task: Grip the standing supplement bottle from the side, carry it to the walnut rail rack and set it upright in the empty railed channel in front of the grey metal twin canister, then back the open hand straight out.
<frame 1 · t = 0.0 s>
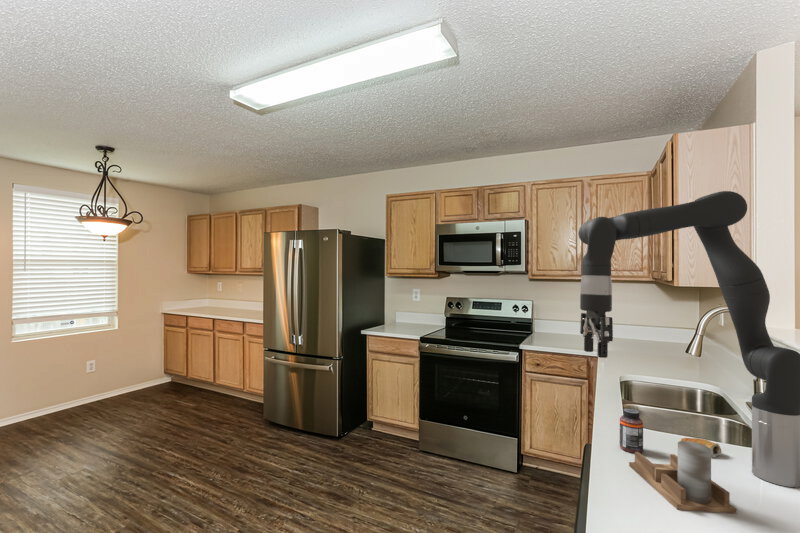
hand: (595, 354, 104), 29 cm above the countertop, tool pointing down, fingers open, 8 cm apart
rail rack: (664, 476, 99), on the countertop
pastry: (701, 452, 115), on the countertop
supplement bottle: (631, 450, 114), on the countertop
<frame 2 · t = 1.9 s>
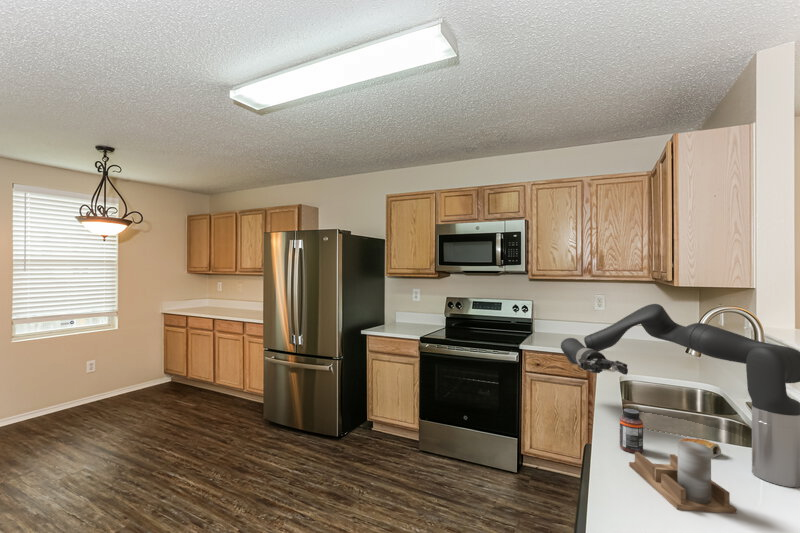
hand: (612, 370, 126), 20 cm above the countertop, tool horizontal, fingers open, 8 cm apart
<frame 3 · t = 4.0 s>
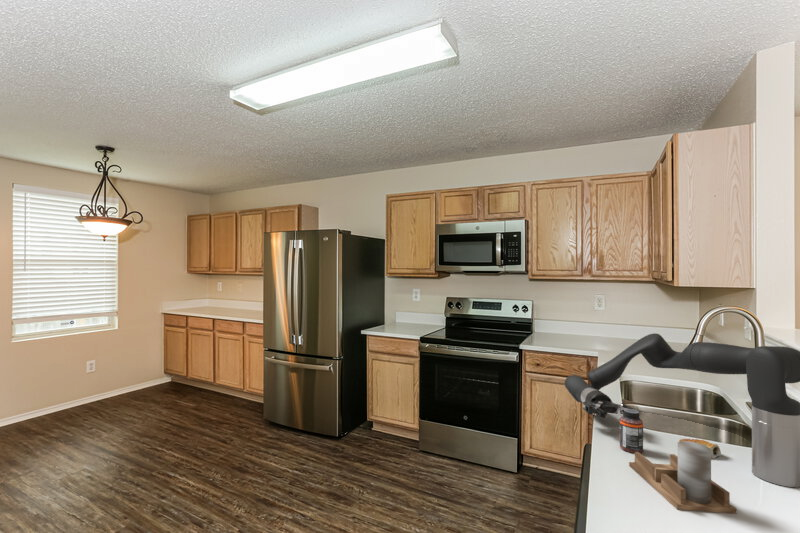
hand: (618, 416, 123), 7 cm above the countertop, tool horizontal, fingers open, 8 cm apart
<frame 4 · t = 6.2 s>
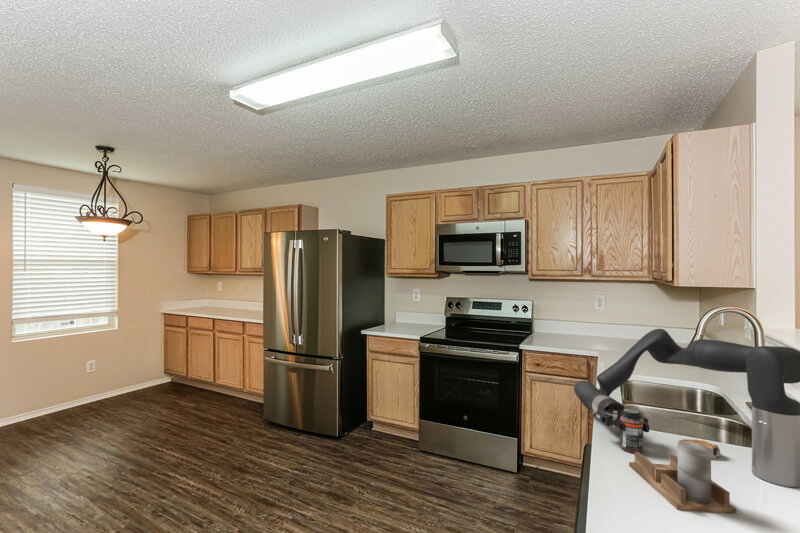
hand: (635, 428, 112), 7 cm above the countertop, tool horizontal, fingers closed on supplement bottle, 6 cm apart
supplement bottle: (631, 450, 114), on the countertop, touching gripper
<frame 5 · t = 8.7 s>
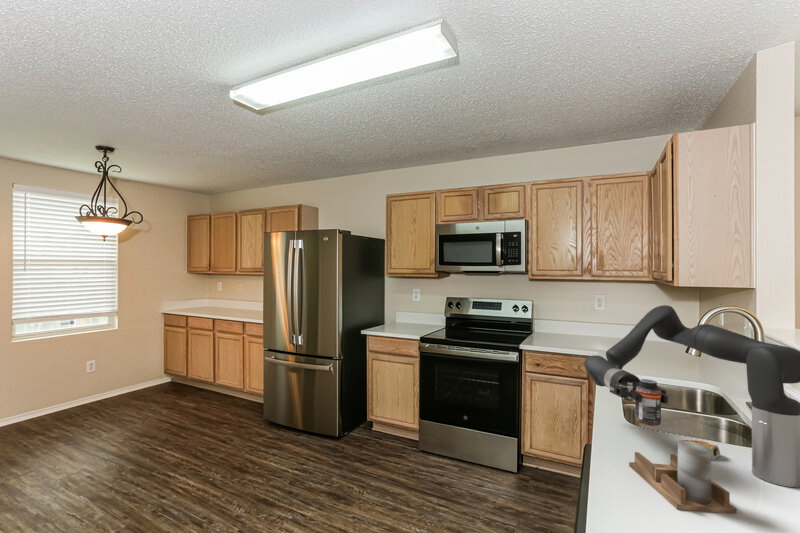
hand: (653, 399, 104), 18 cm above the countertop, tool horizontal, fingers closed on supplement bottle, 6 cm apart
supplement bottle: (647, 423, 107), point 11 cm above the countertop, touching gripper
when the fingers open (10 cm above the countertop, at t = 11.2 s): supplement bottle drops 2 cm, resting on rail rack.
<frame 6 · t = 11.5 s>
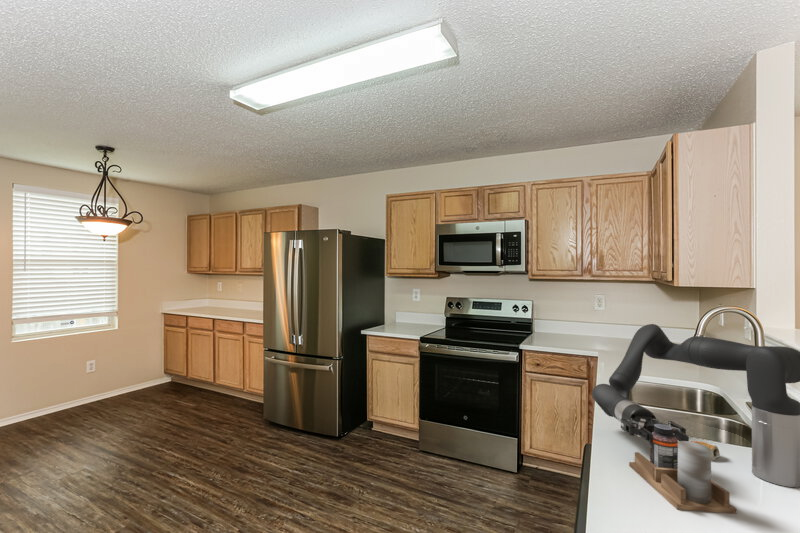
hand: (669, 439, 97), 10 cm above the countertop, tool horizontal, fingers open, 8 cm apart
supplement bottle: (664, 472, 99), point 1 cm above the countertop, touching rail rack
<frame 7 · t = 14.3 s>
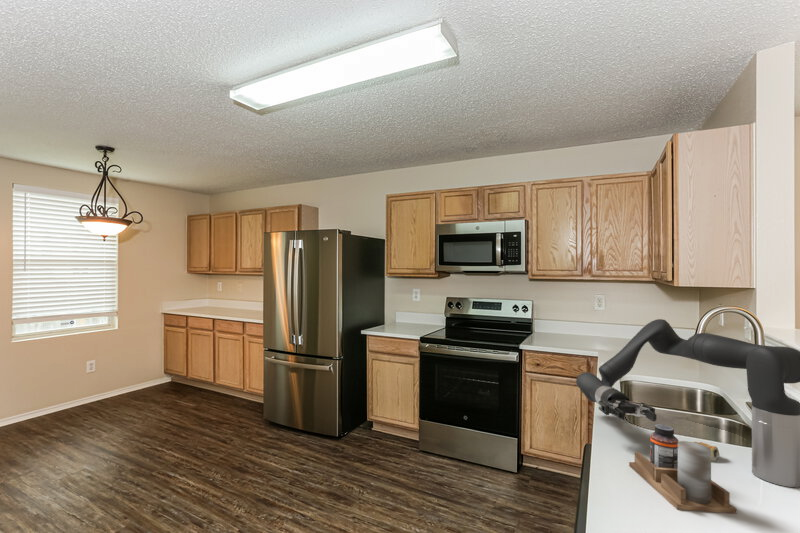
hand: (638, 417, 111), 11 cm above the countertop, tool horizontal, fingers open, 8 cm apart
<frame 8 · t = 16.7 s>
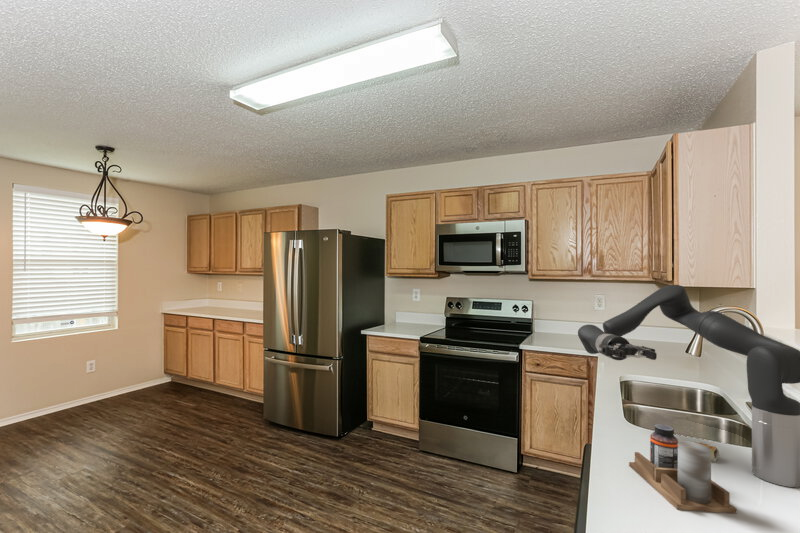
hand: (639, 355, 112), 28 cm above the countertop, tool horizontal, fingers open, 8 cm apart
at the end: supplement bottle 0.2 cm off-centre on the rail rack, point 0.8 cm above the rail rack's base; supplement bottle tilted 0°; the gripper is holding nothing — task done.
